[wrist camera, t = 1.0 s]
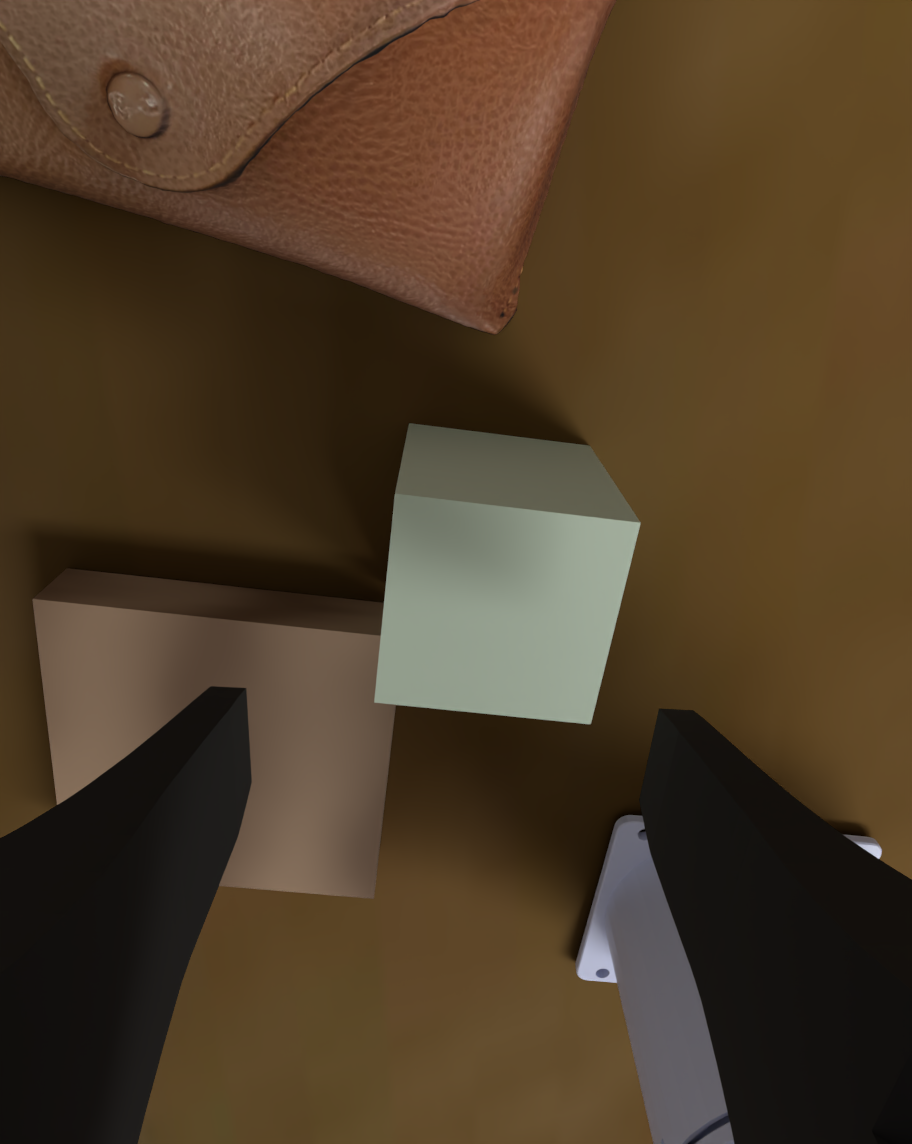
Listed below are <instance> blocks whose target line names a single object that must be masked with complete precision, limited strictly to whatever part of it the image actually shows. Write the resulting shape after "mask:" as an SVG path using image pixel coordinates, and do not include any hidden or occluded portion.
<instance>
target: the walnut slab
mask: <svg viewBox="0 0 912 1144" xmlns="http://www.w3.org/2000/svg"><path fill="white" fill-rule="evenodd" d="M32 600H33V609H34V617H35V625H36V633H37V642H38V650H39V658H40V667H41V675H42V683H43V692H44V700H45V708H46V717H47V725H48V733H49V742H50V750H51V758H52V766H53V775H54V783H55V791H56V800H57V805H58V804H60V803H61V802H63V801H65V800H66V799H68V798H69V797H71V796H72V795H74V794H75V793H77V792H78V791H80V790H81V789H82V788H84V787H85V786H87V785H88V784H90V783H91V782H92V781H94V780H95V779H96V778H98V777H99V776H100V775H102V774H103V773H104V772H106V771H107V770H108V769H110V768H111V767H113V766H114V765H115V764H117V763H118V762H119V761H121V760H122V759H123V758H125V757H126V756H127V755H129V754H130V753H131V752H132V751H134V750H135V749H136V748H137V747H139V746H140V745H141V744H142V743H143V742H145V741H146V740H147V739H148V738H150V737H151V736H152V735H153V734H155V733H156V732H157V731H158V730H159V729H161V728H162V727H163V726H164V725H165V724H166V723H168V722H169V721H170V720H171V719H172V718H174V717H175V716H176V715H177V714H178V713H179V712H181V711H182V710H183V709H184V708H185V707H186V706H188V705H189V704H190V703H191V702H192V701H193V700H195V699H196V698H197V697H198V696H199V695H201V694H202V693H203V692H204V691H205V690H207V689H208V688H209V687H210V686H217V687H237V688H246V691H247V708H248V725H249V742H250V759H251V777H252V784H251V788H250V792H249V796H248V800H247V804H246V808H245V812H244V816H243V820H242V824H241V827H240V831H239V835H238V838H237V840H236V843H235V846H234V848H233V851H232V853H231V856H230V858H229V861H228V864H227V866H226V869H225V871H224V874H223V876H222V879H221V881H220V884H219V886H228V887H240V888H252V889H264V890H276V891H288V892H300V893H312V894H324V895H336V896H348V897H360V898H372V899H374V892H375V883H376V875H377V866H378V857H379V848H380V840H381V831H382V822H383V813H384V804H385V796H386V787H387V778H388V769H389V760H390V752H391V743H392V734H393V725H394V717H395V708H396V705H394V704H384V703H374V699H375V689H376V679H377V669H378V659H379V649H380V639H381V628H382V618H383V608H384V603H382V602H373V601H363V600H354V599H345V598H336V597H327V596H317V595H308V594H299V593H290V592H281V591H272V590H262V589H253V588H244V587H235V586H226V585H216V584H207V583H198V582H189V581H180V580H170V579H161V578H152V577H143V576H134V575H124V574H115V573H106V572H97V571H88V570H79V569H69V568H67V569H65V570H64V571H63V572H62V573H61V574H60V575H59V576H58V577H56V578H55V579H54V580H53V581H52V582H51V583H50V584H49V585H47V586H46V587H45V588H44V589H43V590H42V591H41V592H40V593H38V594H37V595H36V596H35V597H34V598H33V599H32Z"/></svg>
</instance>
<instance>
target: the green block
mask: <svg viewBox="0 0 912 1144" xmlns="http://www.w3.org/2000/svg"><path fill="white" fill-rule="evenodd" d="M640 524H641V523H640V521H639V520H638V518H637V517H636V515H635V513H634V512H633V510H632V509H631V507H630V506H629V504H628V503H627V501H626V500H625V498H624V497H623V495H622V494H621V492H620V491H619V489H618V488H617V486H616V485H615V483H614V482H613V480H612V479H611V477H610V476H609V474H608V473H607V471H606V470H605V468H604V466H603V465H602V463H601V462H600V460H599V459H598V457H597V456H596V454H595V453H594V451H593V450H592V448H591V447H590V446H588V445H580V444H572V443H564V442H556V441H548V440H540V439H532V438H524V437H516V436H508V435H500V434H492V433H484V432H476V431H468V430H460V429H452V428H444V427H436V426H428V425H420V424H412V423H409V426H408V431H407V436H406V441H405V446H404V451H403V456H402V461H401V466H400V471H399V476H398V481H397V486H396V491H395V498H394V508H393V518H392V528H391V538H390V548H389V558H388V568H387V578H386V588H385V598H384V608H383V618H382V628H381V639H380V649H379V659H378V669H377V679H376V689H375V699H374V703H384V704H394V705H403V706H413V707H423V708H433V709H443V710H453V711H463V712H473V713H483V714H492V715H502V716H512V717H522V718H532V719H542V720H552V721H562V722H572V723H581V724H591V722H592V718H593V714H594V709H595V705H596V701H597V697H598V693H599V689H600V685H601V681H602V677H603V673H604V669H605V665H606V661H607V657H608V653H609V649H610V645H611V641H612V637H613V633H614V629H615V625H616V621H617V616H618V612H619V608H620V604H621V600H622V596H623V592H624V588H625V584H626V580H627V576H628V572H629V568H630V564H631V560H632V556H633V552H634V548H635V544H636V540H637V536H638V532H639V528H640Z"/></svg>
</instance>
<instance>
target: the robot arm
mask: <svg viewBox="0 0 912 1144" xmlns="http://www.w3.org/2000/svg"><path fill="white" fill-rule="evenodd" d="M251 784H252V777H251V759H250V742H249V725H248V708H247V691H246V688H237V687H217V686H210V687H209V688H208V689H207V690H205V691H204V692H203V693H202V694H201V695H199V696H198V697H197V698H196V699H195V700H193V701H192V702H191V703H190V704H189V705H188V706H186V707H185V708H184V709H183V710H182V711H181V712H179V713H178V714H177V715H176V716H175V717H174V718H172V719H171V720H170V721H169V722H168V723H166V724H165V725H164V726H163V727H162V728H161V729H159V730H158V731H157V732H156V733H155V734H153V735H152V736H151V737H150V738H148V739H147V740H146V741H145V742H143V743H142V744H141V745H140V746H139V747H137V748H136V749H135V750H134V751H132V752H131V753H130V754H129V755H127V756H126V757H125V758H123V759H122V760H121V761H119V762H118V763H117V764H115V765H114V766H113V767H111V768H110V769H108V770H107V771H106V772H104V773H103V774H102V775H100V776H99V777H98V778H96V779H95V780H94V781H92V782H91V783H90V784H88V785H87V786H85V787H84V788H82V789H81V790H80V791H78V792H77V793H75V794H74V795H72V796H71V797H69V798H68V799H66V800H65V801H63V802H61V803H60V804H58V805H57V806H55V807H53V808H52V809H50V810H49V811H47V812H45V813H44V814H42V815H40V816H39V817H37V818H36V819H34V820H32V821H31V822H29V823H27V824H26V825H24V826H22V827H20V828H19V829H17V830H15V831H13V832H11V833H9V834H8V835H6V836H4V837H2V838H0V1144H137V1143H138V1140H139V1136H140V1132H141V1128H142V1124H143V1120H144V1116H145V1112H146V1108H147V1105H148V1101H149V1097H150V1093H151V1090H152V1086H153V1082H154V1079H155V1075H156V1071H157V1068H158V1064H159V1060H160V1057H161V1053H162V1049H163V1045H164V1042H165V1038H166V1035H167V1031H168V1028H169V1025H170V1021H171V1018H172V1014H173V1011H174V1007H175V1004H176V1000H177V997H178V993H179V990H180V986H181V983H182V980H183V977H184V974H185V971H186V969H187V966H188V963H189V960H190V957H191V954H192V952H193V949H194V947H195V944H196V942H197V939H198V937H199V934H200V932H201V929H202V927H203V924H204V922H205V919H206V917H207V914H208V912H209V909H210V907H211V904H212V902H213V899H214V897H215V894H216V891H217V889H218V886H219V884H220V881H221V879H222V876H223V874H224V871H225V869H226V866H227V864H228V861H229V858H230V856H231V853H232V851H233V848H234V846H235V843H236V840H237V838H238V835H239V831H240V827H241V824H242V820H243V816H244V812H245V808H246V804H247V800H248V796H249V792H250V788H251ZM639 801H640V806H641V811H642V816H638V815H626V816H623V817H621V818H619V819H618V820H617V821H616V823H615V825H614V829H613V832H612V836H611V839H610V843H609V846H608V850H607V853H606V857H605V861H604V864H603V868H602V871H601V875H600V878H599V882H598V885H597V889H596V892H595V896H594V899H593V903H592V907H591V910H590V914H589V917H588V921H587V924H586V928H585V931H584V935H583V938H582V942H581V945H580V949H579V953H578V956H577V960H576V972H577V975H578V976H579V977H580V978H582V979H584V980H590V981H602V982H615V983H617V984H618V989H619V993H620V998H621V1002H622V1007H623V1011H624V1015H625V1020H626V1024H627V1029H628V1033H629V1037H630V1042H631V1046H632V1051H633V1055H634V1059H635V1064H636V1068H637V1073H638V1077H639V1082H640V1086H641V1090H642V1095H643V1099H644V1104H645V1108H646V1112H647V1117H648V1121H649V1126H650V1130H651V1135H652V1139H653V1143H654V1144H912V880H911V879H910V878H908V877H906V876H905V875H903V874H902V873H900V872H898V871H897V870H895V869H893V868H892V867H890V866H889V865H887V864H886V863H884V862H883V861H881V860H880V859H879V858H880V856H881V853H882V850H881V847H880V846H879V844H878V843H877V841H876V840H875V839H873V838H871V837H865V836H854V835H843V834H841V833H840V832H839V831H837V830H836V829H834V828H833V827H832V826H830V825H829V824H828V823H826V822H825V821H824V820H823V819H821V818H820V817H819V816H817V815H816V814H815V813H813V812H812V811H811V810H810V809H808V808H807V807H806V806H804V805H803V804H802V803H801V802H799V801H798V800H797V799H796V798H794V797H793V796H792V795H791V794H789V793H788V792H787V791H786V790H785V789H783V788H782V787H781V786H780V785H779V784H777V783H776V782H775V781H774V780H773V779H771V778H770V777H769V776H768V775H767V774H766V773H764V772H763V771H762V770H761V769H760V768H759V767H758V766H756V765H755V764H754V763H753V762H752V761H751V760H750V759H748V758H747V757H746V756H745V755H744V754H743V753H742V752H741V751H739V750H738V749H737V748H736V747H735V746H734V745H733V744H732V743H731V742H729V741H728V740H727V739H726V738H725V737H724V736H723V735H722V734H720V733H719V732H718V731H717V730H716V729H715V728H714V727H713V726H711V725H710V724H709V723H708V722H707V721H706V720H705V719H703V718H702V717H701V716H700V715H698V714H697V713H696V712H695V711H693V710H674V709H659V712H658V716H657V721H656V725H655V730H654V735H653V739H652V744H651V748H650V753H649V758H648V762H647V767H646V771H645V776H644V781H643V785H642V790H641V794H640V799H639ZM642 829H645V832H639V831H641V830H642Z"/></svg>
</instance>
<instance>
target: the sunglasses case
mask: <svg viewBox="0 0 912 1144" xmlns="http://www.w3.org/2000/svg"><path fill="white" fill-rule="evenodd" d="M615 3H616V0H0V176H4V177H10V178H14V179H17V180H20V181H23V182H25V183H31V184H35V185H38V186H41V187H44V188H48V189H53V190H56V191H59V192H62V193H66V194H70V195H74V196H77V197H81V198H84V199H88V200H91V201H94V202H97V203H100V204H104V205H107V206H111V207H114V208H117V209H122V210H125V211H128V212H131V213H134V214H138V215H142V216H146V217H150V218H154V219H156V220H159V221H161V222H162V223H165V224H171V225H174V226H177V227H181V228H184V229H188V230H191V231H194V232H197V233H202V234H205V235H208V236H211V237H214V238H216V239H221V240H223V241H226V242H230V243H234V244H237V245H240V246H243V247H246V248H248V249H253V250H256V251H258V252H262V253H266V254H268V255H271V256H274V257H278V258H281V259H284V260H288V261H291V262H295V263H298V264H302V265H305V266H307V267H309V268H312V269H315V270H318V271H320V272H322V273H325V274H328V275H333V276H336V277H339V278H340V279H343V280H348V281H351V282H353V283H355V284H357V285H360V286H363V287H366V288H368V289H371V290H373V291H376V292H378V293H381V294H384V295H386V296H388V297H391V298H393V299H396V300H398V301H401V302H404V303H407V304H409V305H412V306H415V307H418V308H420V309H423V310H425V311H427V312H429V313H433V314H436V315H438V316H441V317H443V318H446V319H449V320H451V321H454V322H456V323H459V324H462V325H463V326H467V327H470V328H473V329H476V330H479V331H482V332H487V333H489V334H492V335H495V334H498V333H499V332H500V331H501V330H502V329H503V328H504V327H505V326H506V325H507V324H508V323H509V321H510V320H511V319H512V317H513V316H514V314H515V313H516V311H517V304H518V295H519V285H520V274H521V273H522V270H523V264H524V261H525V258H526V256H527V254H528V251H529V247H530V244H531V242H532V238H533V234H534V232H535V230H536V226H537V223H538V221H539V216H540V213H541V211H542V208H543V204H544V201H545V199H546V197H547V194H548V191H549V187H550V183H551V180H552V177H553V172H554V170H555V167H556V166H557V163H558V160H559V157H560V152H561V148H562V145H563V143H564V140H565V138H566V135H567V130H568V128H569V126H570V121H571V118H572V115H573V113H574V111H575V109H576V107H577V101H578V98H579V94H580V91H581V89H582V87H583V83H584V79H585V77H586V74H587V70H588V67H589V63H590V61H591V59H592V57H593V55H594V52H595V49H596V46H597V44H598V43H599V40H600V36H601V33H602V32H603V30H604V27H605V25H606V22H607V19H608V17H609V15H610V13H611V10H612V8H613V6H614V5H615Z"/></svg>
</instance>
